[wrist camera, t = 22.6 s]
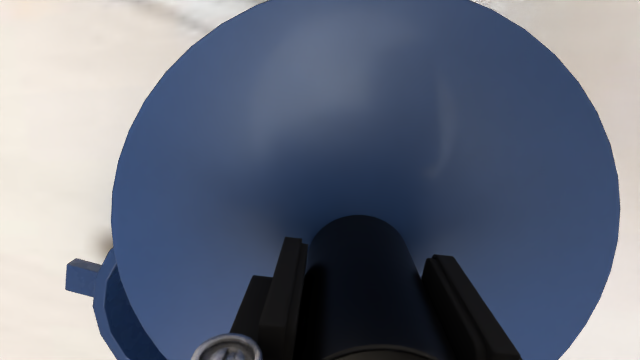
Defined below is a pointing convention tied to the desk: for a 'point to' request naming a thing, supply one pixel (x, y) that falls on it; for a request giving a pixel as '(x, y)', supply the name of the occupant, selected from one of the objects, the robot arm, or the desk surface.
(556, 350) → the pot lid
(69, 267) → the pot
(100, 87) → the desk surface
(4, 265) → the desk surface
